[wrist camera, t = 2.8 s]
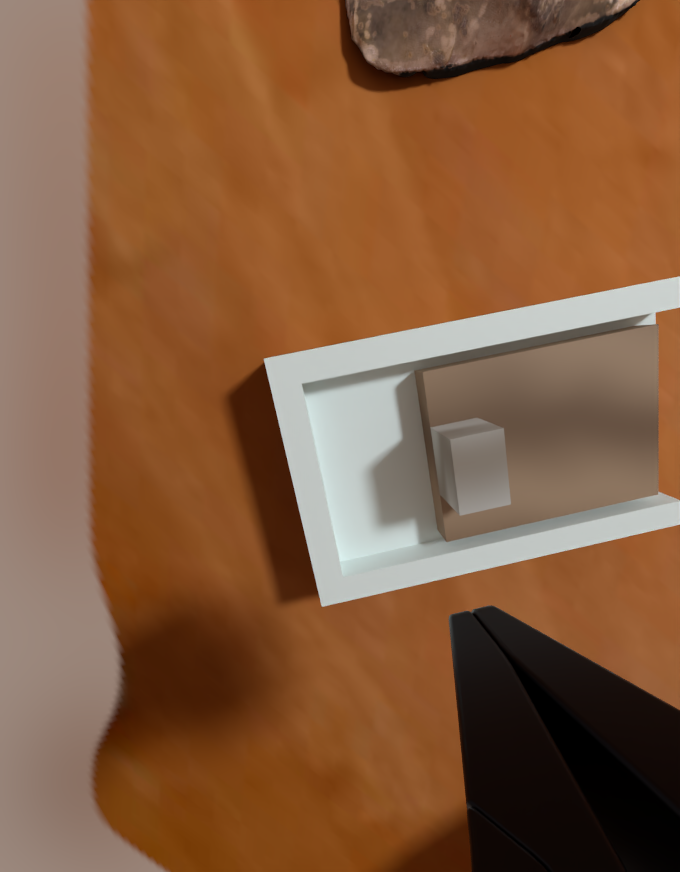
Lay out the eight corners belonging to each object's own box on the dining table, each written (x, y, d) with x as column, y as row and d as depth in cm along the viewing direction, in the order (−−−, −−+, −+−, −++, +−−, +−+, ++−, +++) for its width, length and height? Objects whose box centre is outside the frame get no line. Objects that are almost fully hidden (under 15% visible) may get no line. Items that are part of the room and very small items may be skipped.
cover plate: (636, 485, 19) (707, 514, 16) (437, 529, 18) (466, 569, 15) (634, 325, 17) (713, 320, 14) (414, 370, 17) (441, 375, 13)
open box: (630, 501, 21) (680, 524, 18) (319, 571, 20) (321, 606, 17) (627, 286, 18) (683, 275, 15) (270, 357, 17) (263, 358, 15)
